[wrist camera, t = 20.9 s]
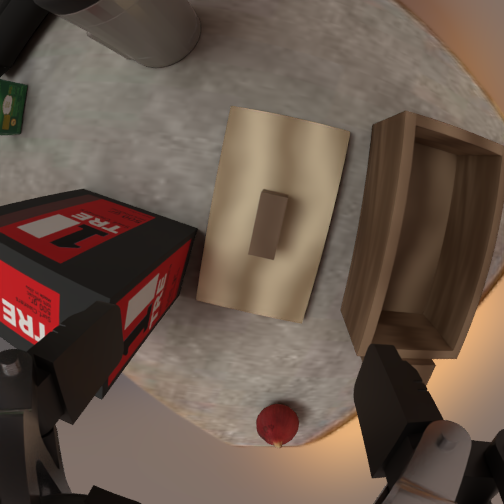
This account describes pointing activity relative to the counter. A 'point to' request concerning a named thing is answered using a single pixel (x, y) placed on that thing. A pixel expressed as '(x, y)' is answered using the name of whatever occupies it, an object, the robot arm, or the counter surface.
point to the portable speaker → (17, 28)
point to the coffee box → (11, 106)
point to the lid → (270, 213)
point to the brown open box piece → (423, 238)
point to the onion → (277, 424)
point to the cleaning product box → (87, 266)
